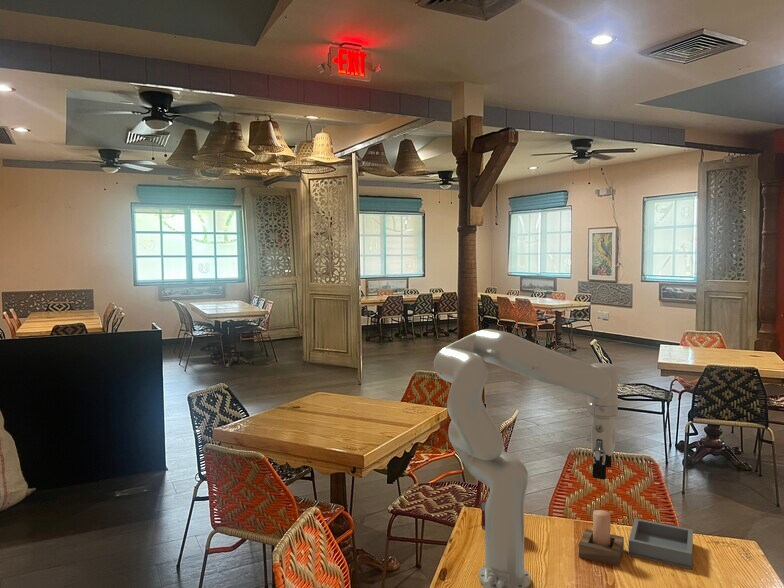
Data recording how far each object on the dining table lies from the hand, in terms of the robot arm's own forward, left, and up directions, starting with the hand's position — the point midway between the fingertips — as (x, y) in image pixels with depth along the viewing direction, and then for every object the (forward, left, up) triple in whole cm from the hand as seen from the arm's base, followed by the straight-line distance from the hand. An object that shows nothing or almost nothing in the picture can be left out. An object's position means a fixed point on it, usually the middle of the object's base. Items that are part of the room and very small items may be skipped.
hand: (602, 472), depth 148 cm
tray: (+10, -14, -22) cm, 28 cm away
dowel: (0, 0, -22) cm, 22 cm away
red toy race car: (-3, +27, -23) cm, 35 cm away
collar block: (0, 0, -22) cm, 22 cm away
